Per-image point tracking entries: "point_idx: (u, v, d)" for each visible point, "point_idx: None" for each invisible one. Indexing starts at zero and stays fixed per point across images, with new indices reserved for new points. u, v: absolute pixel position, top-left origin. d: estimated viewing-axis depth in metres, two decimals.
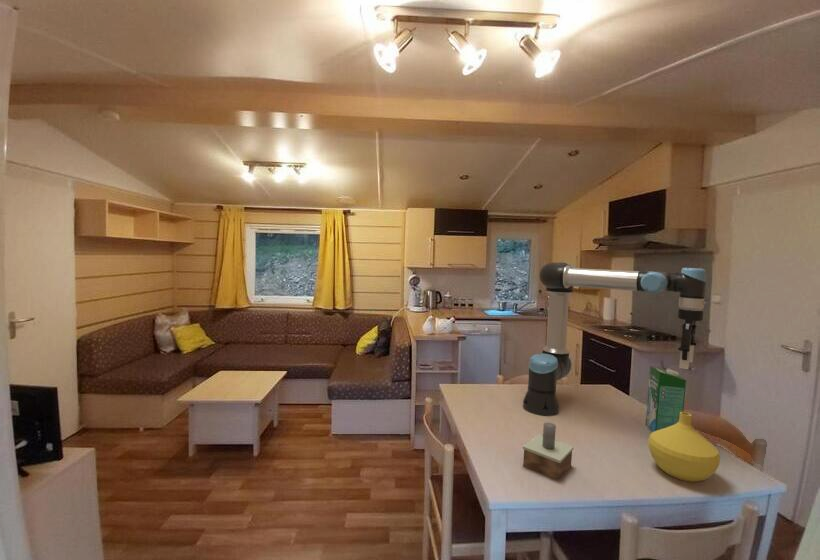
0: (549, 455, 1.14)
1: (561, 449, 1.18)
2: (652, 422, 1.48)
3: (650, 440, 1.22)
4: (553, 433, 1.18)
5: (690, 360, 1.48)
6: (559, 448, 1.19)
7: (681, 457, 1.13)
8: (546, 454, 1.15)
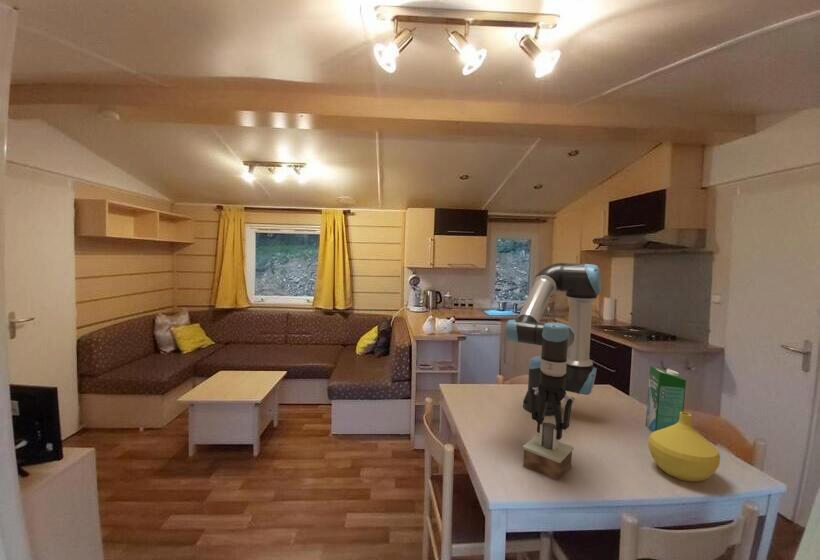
0: (549, 455, 1.14)
1: (561, 449, 1.18)
2: (652, 422, 1.48)
3: (650, 440, 1.22)
4: None
5: None
6: (559, 448, 1.19)
7: (681, 457, 1.13)
8: (546, 454, 1.15)
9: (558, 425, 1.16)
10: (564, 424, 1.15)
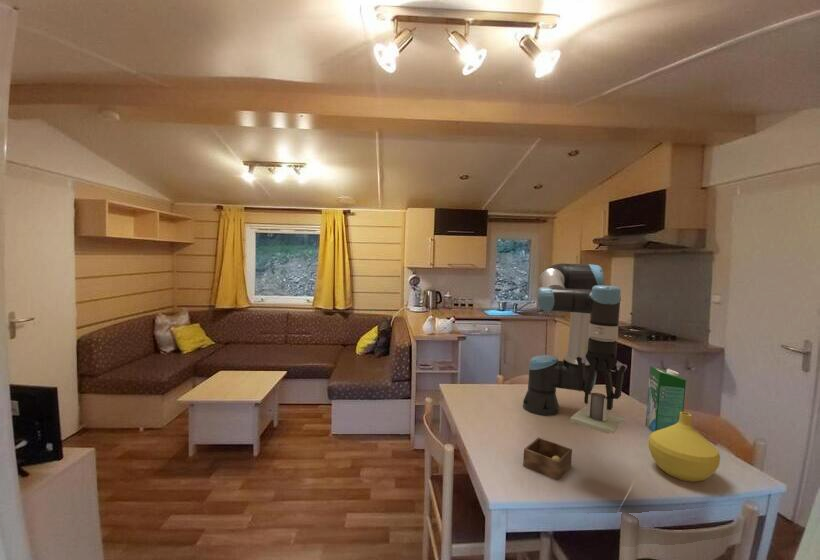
0: (600, 426, 1.06)
1: (611, 421, 1.10)
2: (652, 422, 1.48)
3: (650, 440, 1.22)
4: (603, 403, 1.10)
5: None
6: (609, 420, 1.11)
7: (681, 457, 1.13)
8: (597, 425, 1.07)
9: (609, 394, 1.08)
10: (616, 393, 1.07)
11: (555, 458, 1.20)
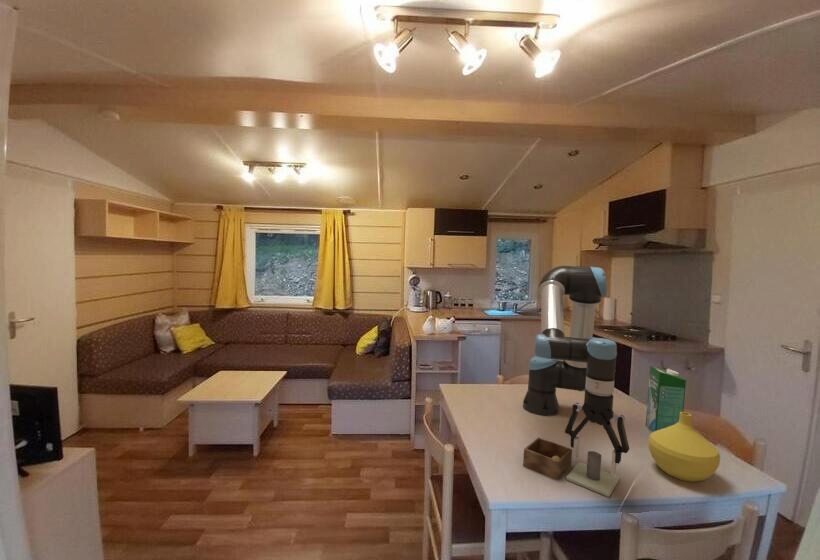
0: (596, 488, 1.08)
1: (607, 480, 1.12)
2: (652, 422, 1.48)
3: (650, 440, 1.22)
4: (599, 463, 1.11)
5: None
6: (605, 479, 1.12)
7: (681, 457, 1.13)
8: (593, 486, 1.08)
9: (617, 447, 1.08)
10: (623, 447, 1.06)
11: (555, 458, 1.20)
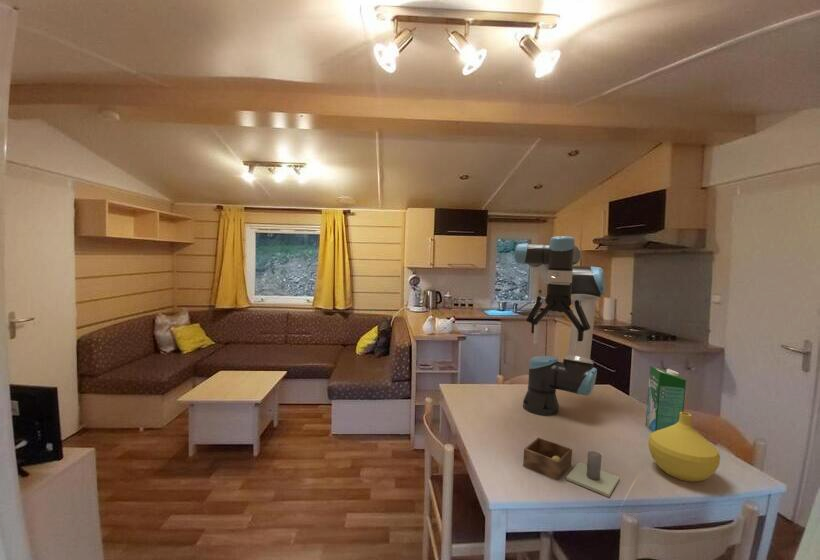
0: (596, 488, 1.08)
1: (607, 480, 1.12)
2: (652, 422, 1.48)
3: (650, 440, 1.22)
4: (599, 463, 1.11)
5: None
6: (605, 479, 1.12)
7: (681, 457, 1.13)
8: (593, 486, 1.08)
9: (578, 327, 1.20)
10: (584, 325, 1.19)
11: (555, 458, 1.20)
